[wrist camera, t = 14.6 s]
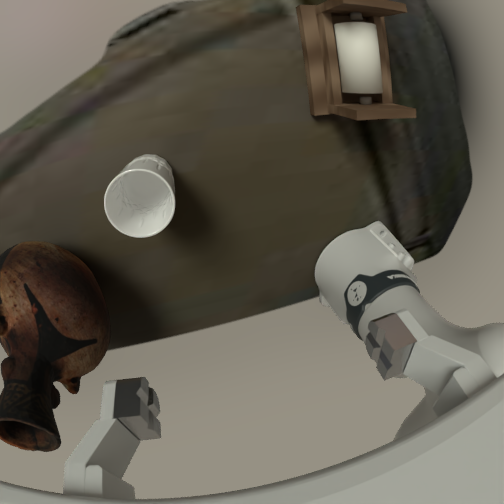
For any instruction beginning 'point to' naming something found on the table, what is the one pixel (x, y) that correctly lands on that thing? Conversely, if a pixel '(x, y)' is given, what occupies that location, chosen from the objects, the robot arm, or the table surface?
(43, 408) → the ceramic vessel
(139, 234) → the white cup
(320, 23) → the roll holder
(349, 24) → the paper roll
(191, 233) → the table surface
